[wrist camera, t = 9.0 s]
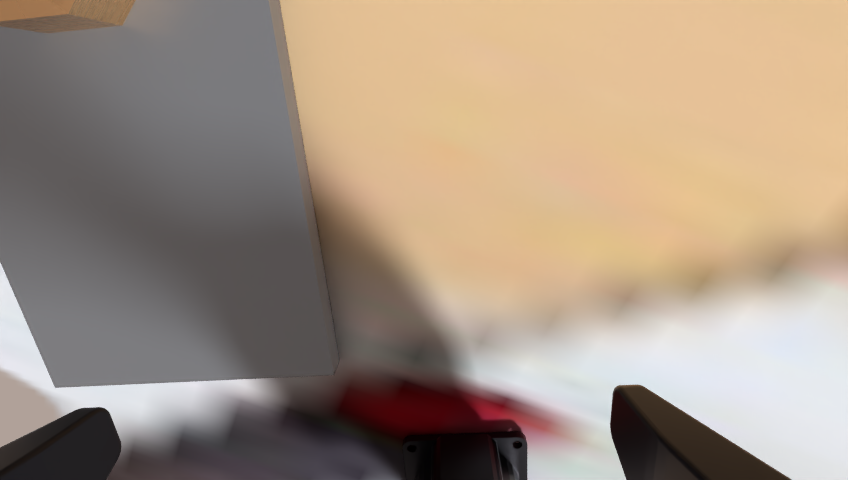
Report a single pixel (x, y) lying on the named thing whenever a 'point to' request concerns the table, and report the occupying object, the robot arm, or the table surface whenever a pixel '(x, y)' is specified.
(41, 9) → the ring
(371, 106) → the table surface
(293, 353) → the base
